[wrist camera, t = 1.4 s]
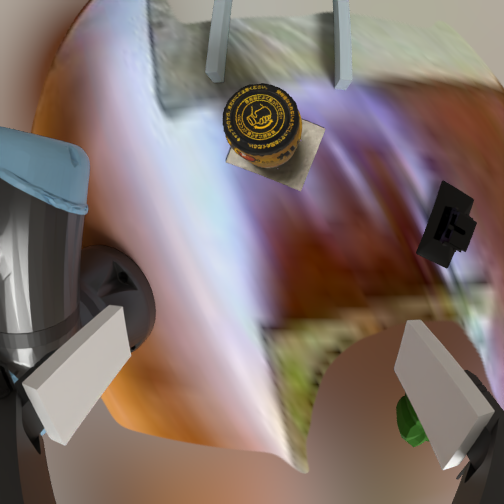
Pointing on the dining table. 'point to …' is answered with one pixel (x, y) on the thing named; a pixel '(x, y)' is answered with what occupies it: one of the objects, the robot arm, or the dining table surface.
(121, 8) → the dining table surface
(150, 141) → the dining table surface
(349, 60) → the bay
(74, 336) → the robot arm
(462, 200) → the black angular block
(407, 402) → the bell pepper
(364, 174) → the dining table surface
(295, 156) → the condiment
